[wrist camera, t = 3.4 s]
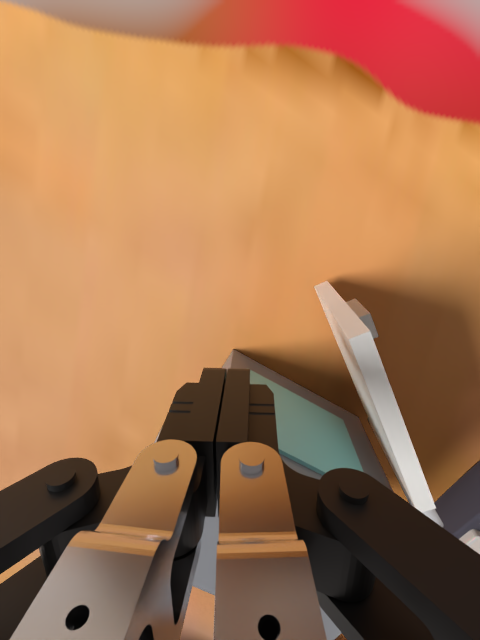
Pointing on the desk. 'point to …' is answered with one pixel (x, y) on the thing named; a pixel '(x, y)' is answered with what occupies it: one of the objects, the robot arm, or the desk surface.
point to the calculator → (463, 508)
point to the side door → (374, 388)
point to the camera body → (302, 453)
